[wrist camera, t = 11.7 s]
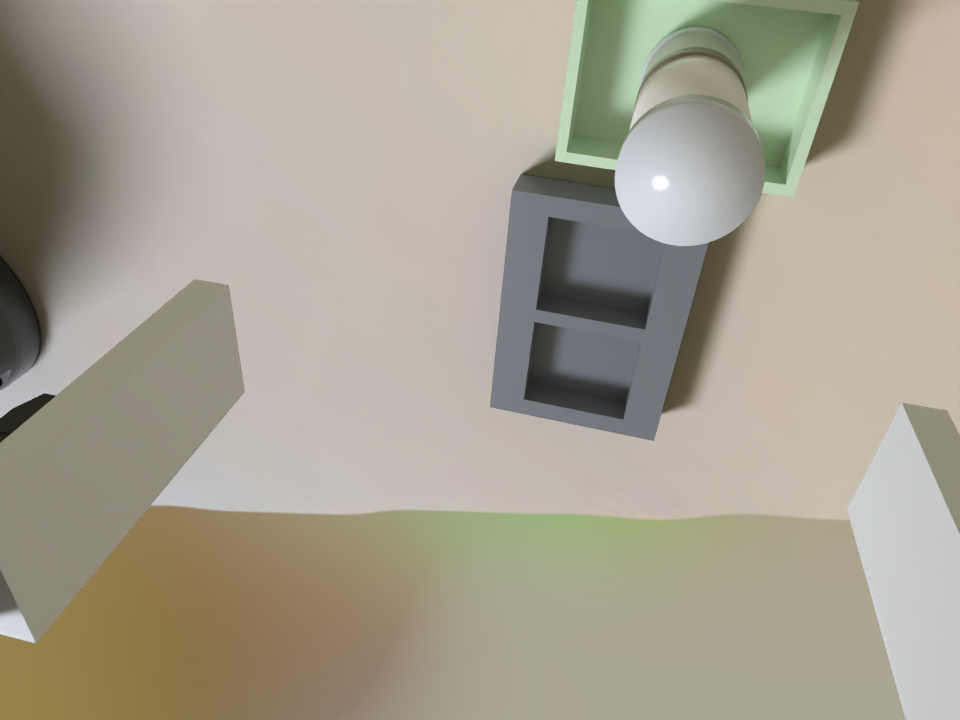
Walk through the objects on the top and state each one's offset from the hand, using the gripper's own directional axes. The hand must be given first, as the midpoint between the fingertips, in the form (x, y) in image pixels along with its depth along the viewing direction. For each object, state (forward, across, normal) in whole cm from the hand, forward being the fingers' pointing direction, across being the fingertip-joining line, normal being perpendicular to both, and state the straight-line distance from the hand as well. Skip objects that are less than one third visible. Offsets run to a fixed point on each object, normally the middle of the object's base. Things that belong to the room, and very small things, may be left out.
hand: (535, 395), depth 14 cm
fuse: (+24, +3, +1) cm, 25 cm away
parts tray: (+25, +3, +1) cm, 25 cm away
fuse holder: (+25, +1, -12) cm, 28 cm away
